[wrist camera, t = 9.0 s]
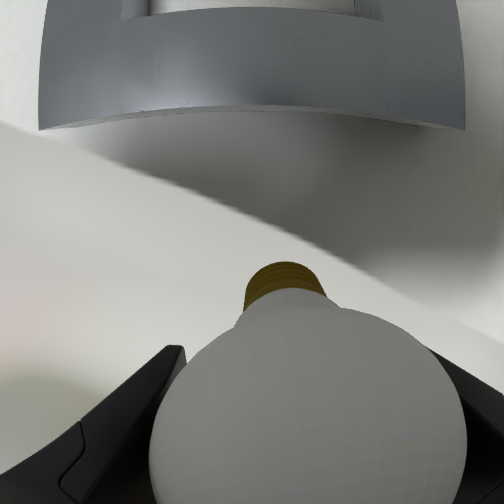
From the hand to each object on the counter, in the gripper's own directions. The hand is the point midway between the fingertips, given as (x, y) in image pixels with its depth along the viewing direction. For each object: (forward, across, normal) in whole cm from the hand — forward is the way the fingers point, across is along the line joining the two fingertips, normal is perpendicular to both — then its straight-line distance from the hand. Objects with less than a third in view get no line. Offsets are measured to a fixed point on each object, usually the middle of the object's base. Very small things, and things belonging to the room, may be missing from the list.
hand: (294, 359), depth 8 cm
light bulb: (+4, 0, 0) cm, 4 cm away
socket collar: (+5, +1, -13) cm, 14 cm away
